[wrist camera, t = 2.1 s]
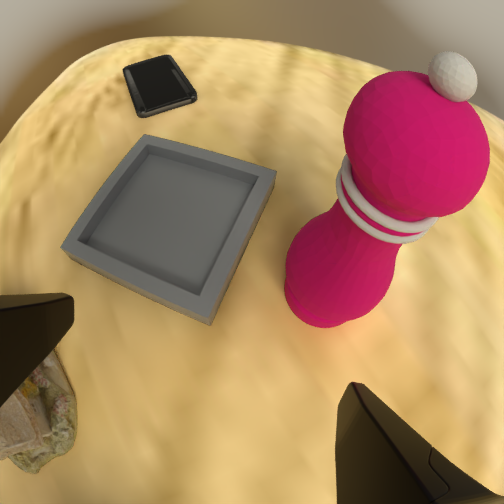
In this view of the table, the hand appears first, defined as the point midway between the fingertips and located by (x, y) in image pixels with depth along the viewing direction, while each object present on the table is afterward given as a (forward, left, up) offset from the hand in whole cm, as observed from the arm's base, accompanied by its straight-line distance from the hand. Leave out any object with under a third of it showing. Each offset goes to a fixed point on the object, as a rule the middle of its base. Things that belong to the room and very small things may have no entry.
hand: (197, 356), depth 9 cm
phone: (+23, -30, -14) cm, 40 cm away
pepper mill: (-5, -10, -14) cm, 17 cm away
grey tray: (+9, -11, -14) cm, 20 cm away
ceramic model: (+15, +9, -14) cm, 22 cm away
